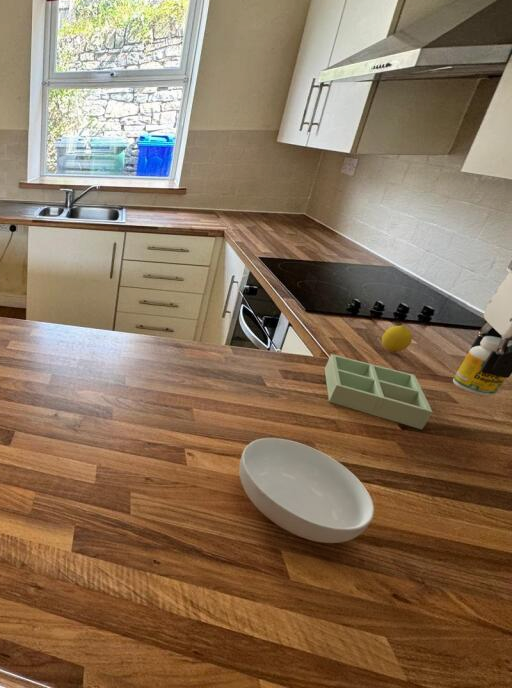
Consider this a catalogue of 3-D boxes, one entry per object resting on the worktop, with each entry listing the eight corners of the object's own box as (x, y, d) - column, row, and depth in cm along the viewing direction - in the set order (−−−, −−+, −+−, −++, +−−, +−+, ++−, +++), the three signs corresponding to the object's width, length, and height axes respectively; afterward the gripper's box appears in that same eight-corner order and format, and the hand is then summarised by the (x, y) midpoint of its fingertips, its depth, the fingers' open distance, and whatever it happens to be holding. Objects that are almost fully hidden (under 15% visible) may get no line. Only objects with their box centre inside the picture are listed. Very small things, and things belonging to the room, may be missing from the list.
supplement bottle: (482, 382, 73) (511, 337, 69) (503, 400, 69) (535, 352, 65) (444, 376, 75) (470, 331, 71) (462, 393, 70) (491, 346, 66)
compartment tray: (405, 391, 93) (414, 374, 91) (422, 429, 82) (432, 412, 80) (324, 369, 101) (331, 353, 99) (328, 401, 89) (336, 385, 87)
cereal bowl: (213, 464, 72) (223, 435, 69) (306, 468, 72) (320, 438, 69) (267, 558, 57) (283, 525, 54) (385, 563, 57) (408, 530, 54)
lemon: (386, 355, 107) (399, 329, 104) (372, 345, 112) (384, 320, 109) (409, 358, 107) (423, 331, 103) (394, 347, 111) (407, 322, 108)
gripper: (622, 291, 54) (543, 399, 61) (555, 257, 67) (497, 350, 75) (538, 280, 57) (473, 383, 65) (490, 250, 70) (441, 339, 78)
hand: (487, 364), depth 70 cm, fingers closed on supplement bottle, 5 cm apart
